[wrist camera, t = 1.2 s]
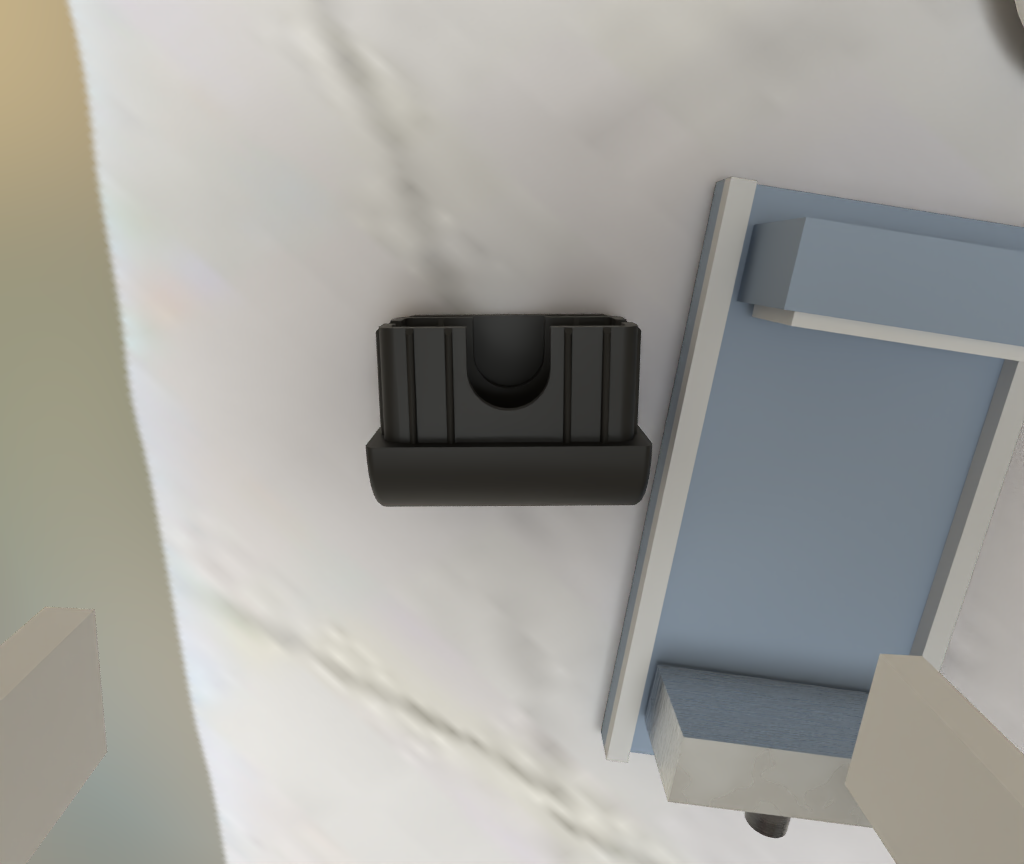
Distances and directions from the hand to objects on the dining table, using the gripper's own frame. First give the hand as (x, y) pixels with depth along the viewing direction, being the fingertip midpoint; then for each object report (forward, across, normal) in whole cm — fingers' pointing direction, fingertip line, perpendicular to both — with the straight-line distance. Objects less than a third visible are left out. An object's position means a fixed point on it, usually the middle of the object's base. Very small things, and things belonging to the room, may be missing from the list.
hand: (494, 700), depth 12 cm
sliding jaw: (+17, -14, +14) cm, 26 cm away
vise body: (+19, -15, +3) cm, 24 cm away
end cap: (+20, -1, -1) cm, 20 cm away
